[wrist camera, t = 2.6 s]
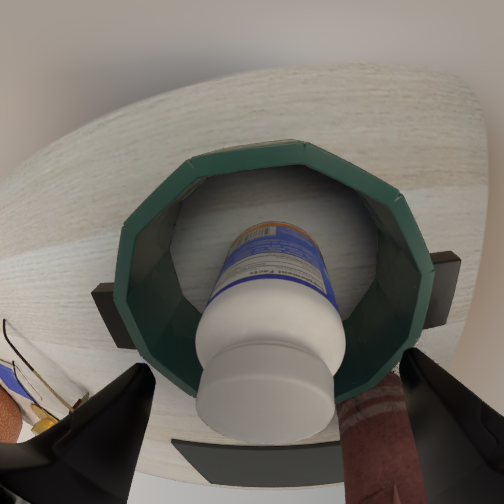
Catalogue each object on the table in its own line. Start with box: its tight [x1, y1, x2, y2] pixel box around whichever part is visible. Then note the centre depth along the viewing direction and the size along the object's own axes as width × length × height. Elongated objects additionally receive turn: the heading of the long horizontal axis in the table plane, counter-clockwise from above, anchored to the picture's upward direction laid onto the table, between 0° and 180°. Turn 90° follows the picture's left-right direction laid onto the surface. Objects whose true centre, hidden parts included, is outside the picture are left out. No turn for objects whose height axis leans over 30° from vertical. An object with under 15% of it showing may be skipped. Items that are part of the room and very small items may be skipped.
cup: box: [31, 405, 59, 436], centre depth 33 cm, size 12×12×5 cm
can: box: [336, 372, 427, 504], centre depth 13 cm, size 6×6×14 cm
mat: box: [171, 439, 344, 487], centre depth 28 cm, size 26×19×1 cm
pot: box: [91, 139, 461, 404], centre depth 13 cm, size 17×13×6 cm
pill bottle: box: [195, 222, 346, 445], centre depth 11 cm, size 5×5×10 cm
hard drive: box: [0, 360, 41, 404], centre depth 29 cm, size 2×8×12 cm
